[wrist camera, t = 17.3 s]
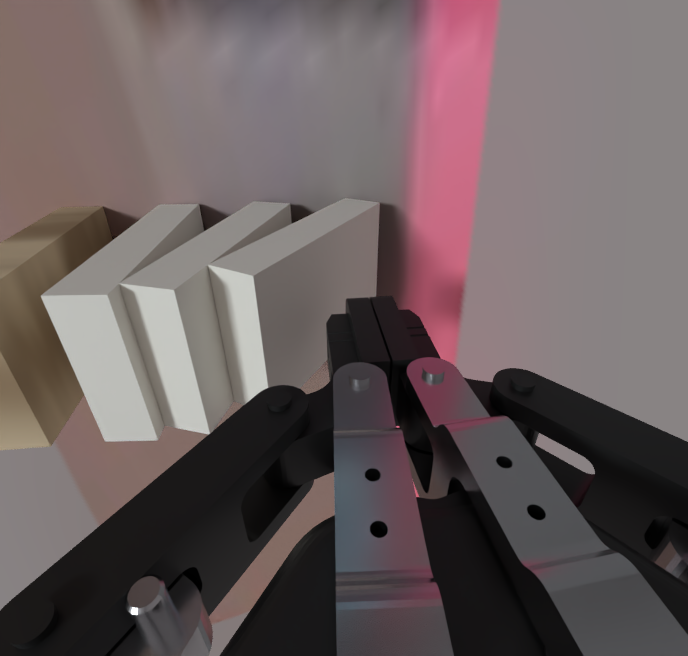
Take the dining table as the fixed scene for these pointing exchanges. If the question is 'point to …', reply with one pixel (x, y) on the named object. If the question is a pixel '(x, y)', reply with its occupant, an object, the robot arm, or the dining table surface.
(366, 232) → the domino
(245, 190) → the dining table surface
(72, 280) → the domino
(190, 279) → the domino
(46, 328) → the domino
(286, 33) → the dining table surface
